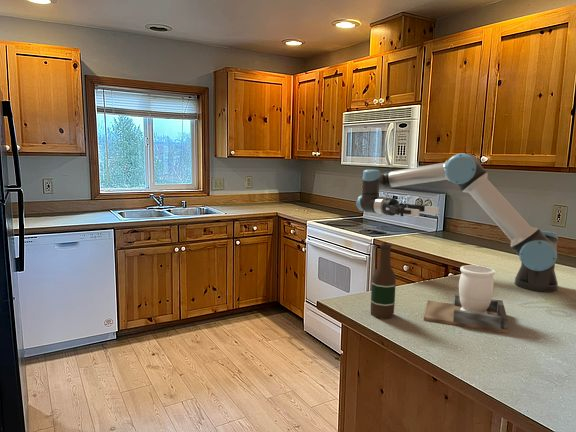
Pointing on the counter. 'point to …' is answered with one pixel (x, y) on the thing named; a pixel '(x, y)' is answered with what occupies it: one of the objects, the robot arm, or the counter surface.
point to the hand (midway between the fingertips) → (429, 211)
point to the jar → (476, 288)
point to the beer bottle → (383, 286)
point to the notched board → (448, 315)
